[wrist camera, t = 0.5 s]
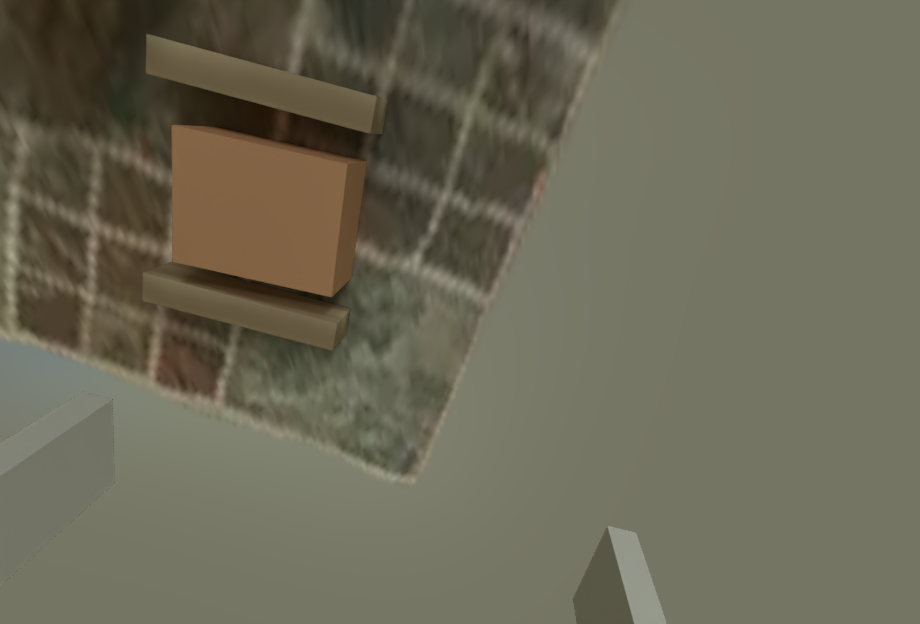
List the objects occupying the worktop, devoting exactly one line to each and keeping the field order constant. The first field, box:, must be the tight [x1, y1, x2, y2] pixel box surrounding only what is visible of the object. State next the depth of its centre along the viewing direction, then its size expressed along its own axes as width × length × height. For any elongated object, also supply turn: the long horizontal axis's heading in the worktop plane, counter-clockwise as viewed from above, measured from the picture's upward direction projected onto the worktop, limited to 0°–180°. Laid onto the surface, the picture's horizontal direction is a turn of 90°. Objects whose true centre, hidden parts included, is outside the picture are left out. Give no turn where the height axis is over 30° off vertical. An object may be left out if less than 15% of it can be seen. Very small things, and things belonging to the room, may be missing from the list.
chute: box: [142, 34, 388, 351], centre depth 30 cm, size 16×13×3 cm
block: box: [172, 125, 367, 297], centre depth 30 cm, size 8×10×4 cm
